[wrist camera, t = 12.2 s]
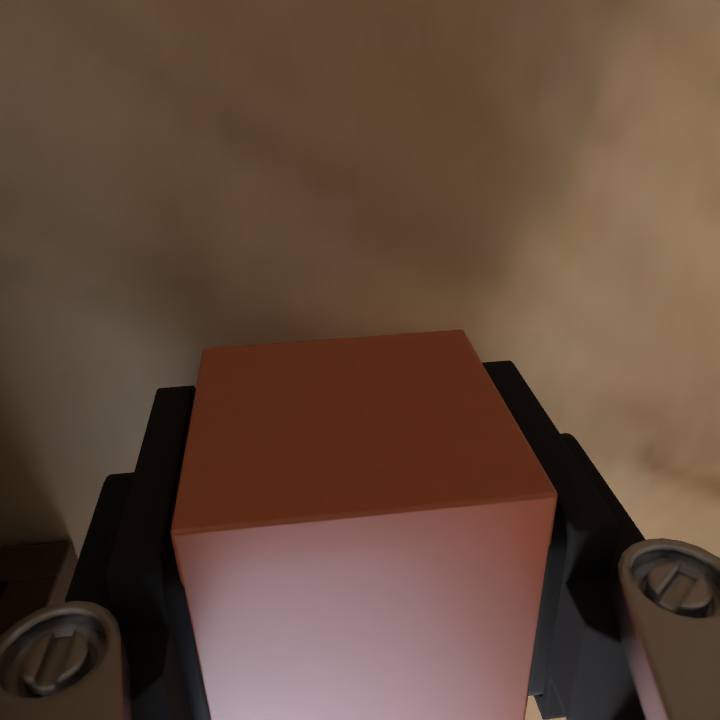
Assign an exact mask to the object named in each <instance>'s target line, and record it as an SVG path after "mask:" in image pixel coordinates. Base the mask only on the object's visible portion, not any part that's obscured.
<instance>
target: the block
mask: <svg viewBox="0 0 720 720" xmlns="http://www.w3.org/2000/svg"><path fill="white" fill-rule="evenodd" d="M556 503H557V491H556V490H555V488H554V486H553V485H552V483H551V481H550V479H549V478H548V476H547V474H546V472H545V471H544V469H543V467H542V466H541V464H540V462H539V460H538V459H537V457H536V455H535V454H534V452H533V450H532V448H531V447H530V445H529V443H528V442H527V440H526V438H525V436H524V435H523V433H522V431H521V430H520V428H519V426H518V424H517V423H516V421H515V419H514V417H513V416H512V414H511V412H510V411H509V409H508V407H507V405H506V404H505V402H504V400H503V399H502V397H501V395H500V393H499V392H498V390H497V388H496V387H495V385H494V383H493V381H492V380H491V378H490V376H489V375H488V373H487V371H486V369H485V368H484V366H483V364H482V362H481V361H480V359H479V357H478V356H477V354H476V352H475V350H474V349H473V347H472V345H471V344H470V342H469V340H468V338H467V337H466V335H465V333H464V332H463V331H462V330H450V331H437V332H424V333H410V334H397V335H383V336H370V337H357V338H343V339H330V340H316V341H303V342H290V343H276V344H263V345H249V346H236V347H223V348H209V349H204V350H203V352H202V357H201V363H200V368H199V374H198V380H197V385H196V391H195V397H194V402H193V408H192V413H191V419H190V425H189V430H188V436H187V441H186V447H185V453H184V458H183V464H182V470H181V475H180V481H179V486H178V492H177V498H176V503H175V509H174V515H173V520H172V526H171V531H170V534H171V538H172V543H173V548H174V553H175V558H176V563H177V568H178V573H179V577H180V580H181V584H182V585H183V586H184V589H185V594H186V599H187V604H188V609H189V614H190V619H191V624H192V629H193V634H194V639H195V644H196V649H197V654H198V658H199V663H200V668H201V673H202V678H203V683H204V688H205V693H206V698H207V703H208V708H209V713H210V718H211V720H525V714H526V707H527V700H528V695H527V690H528V684H529V677H530V670H531V663H532V656H533V649H534V642H535V636H536V629H537V622H538V615H539V608H540V601H541V594H542V588H543V581H544V574H545V567H546V560H547V553H548V548H549V545H550V544H551V537H552V530H553V523H554V516H555V510H556Z"/></svg>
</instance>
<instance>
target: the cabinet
mask: <svg viewBox="0 0 720 720" xmlns="http://www.w3.org/2000/svg"><path fill="white" fill-rule="evenodd" d="M76 565H77V561H76V557H75V554H74V551H73V547H72V544H71V542H61V543H50V544H39V545H28V546H16V547H5V548H0V636H1V635H2V634H3V633H5V632H6V631H7V630H8V629H9V628H10V627H12V626H13V625H14V624H15V623H16V622H17V621H19V620H21V619H23V618H24V617H26V616H28V615H30V614H31V613H33V612H35V611H36V610H39V609H42V608H45V607H48V606H51V605H53V604H56V603H63V602H65V599H66V596H67V593H68V590H69V587H70V583H71V580H72V577H73V574H74V571H75V568H76Z"/></svg>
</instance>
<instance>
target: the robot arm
mask: <svg viewBox="0 0 720 720" xmlns="http://www.w3.org/2000/svg"><path fill="white" fill-rule="evenodd" d="M482 364H483V366H484V368H485V369H486V371H487V373H488V375H489V376H490V378H491V380H492V381H493V383H494V385H495V387H496V388H497V390H498V392H499V393H500V395H501V397H502V399H503V400H504V402H505V404H506V405H507V407H508V409H509V411H510V412H511V414H512V416H513V417H514V419H515V421H516V423H517V424H518V426H519V428H520V430H521V431H522V433H523V435H524V436H525V438H526V440H527V442H528V443H529V445H530V447H531V448H532V450H533V452H534V454H535V455H536V457H537V459H538V460H539V462H540V464H541V466H542V467H543V469H544V471H545V472H546V474H547V476H548V478H549V479H550V481H551V483H552V485H553V486H554V488H555V490H556V491H557V503H556V510H555V516H554V523H553V530H552V537H551V544H550V545H549V548H548V553H547V560H546V567H545V574H544V581H543V588H542V594H541V601H540V608H539V615H538V622H537V629H536V636H535V642H534V649H533V656H532V663H531V670H530V677H529V684H528V690H527V695H528V696H531V695H534V697H535V700H536V702H537V705H538V708H539V710H540V713H541V716H542V718H543V720H544V719H552V718H560V717H566V719H567V720H720V558H718V557H717V556H715V555H713V554H711V553H710V552H708V551H706V550H704V549H702V548H700V547H698V546H695V545H692V544H689V543H685V542H682V541H678V540H670V539H663V538H661V539H648V540H645V538H644V537H643V535H642V534H641V532H640V531H639V530H638V528H637V527H636V525H635V524H634V522H633V521H632V519H631V518H630V517H629V515H628V514H627V512H626V511H625V509H624V508H623V506H622V505H621V504H620V502H619V501H618V499H617V498H616V496H615V495H614V493H613V492H612V490H611V489H610V488H609V486H608V485H607V483H606V482H605V480H604V479H603V477H602V476H601V475H600V473H599V472H598V470H597V469H596V467H595V466H594V464H593V463H592V462H591V460H590V459H589V457H588V456H587V454H586V453H585V451H584V450H583V449H582V447H581V446H580V444H579V443H578V441H577V440H576V439H575V438H574V437H573V436H572V435H571V434H568V433H563V434H560V433H559V432H558V430H557V429H556V427H555V426H554V424H553V423H552V421H551V420H550V418H549V417H548V415H547V414H546V412H545V411H544V409H543V408H542V406H541V405H540V403H539V402H538V400H537V399H536V397H535V395H534V394H533V392H532V391H531V389H530V388H529V386H528V385H527V383H526V382H525V380H524V379H523V377H522V376H521V374H520V373H519V371H518V370H517V368H516V367H515V365H514V364H513V363H512V362H511V361H497V362H484V363H482ZM195 391H196V389H195V387H194V386H182V387H170V388H159V389H158V390H157V392H156V395H155V399H154V403H153V406H152V410H151V414H150V417H149V421H148V424H147V428H146V432H145V435H144V439H143V443H142V446H141V450H140V454H139V457H138V461H137V464H136V468H135V472H133V473H122V474H111V475H109V476H108V477H107V478H106V480H105V482H104V484H103V487H102V490H101V493H100V496H99V499H98V502H97V505H96V508H95V511H94V514H93V517H92V520H91V523H90V526H89V529H88V532H87V535H86V538H85V541H84V544H83V547H82V550H81V553H80V556H79V559H78V562H77V565H76V568H75V571H74V574H73V577H72V580H71V583H70V587H69V590H68V593H67V596H66V599H65V602H63V603H56V604H53V605H51V606H48V607H45V608H42V609H39V610H36V611H35V612H33V613H31V614H30V615H28V616H26V617H24V618H23V619H21V620H19V621H17V622H16V623H15V624H14V625H13V626H12V627H10V628H9V629H8V630H7V631H6V632H5V633H3V634H2V635H1V636H0V720H211V718H210V713H209V708H208V703H207V698H206V693H205V688H204V683H203V678H202V673H201V668H200V663H199V658H198V654H197V649H196V644H195V639H194V634H193V629H192V624H191V619H190V614H189V609H188V604H187V599H186V594H185V589H184V586H183V585H182V584H181V580H180V577H179V573H178V568H177V563H176V558H175V553H174V548H173V543H172V538H171V534H170V531H171V526H172V520H173V515H174V509H175V503H176V498H177V492H178V486H179V481H180V475H181V470H182V464H183V458H184V453H185V447H186V441H187V436H188V430H189V425H190V419H191V413H192V408H193V402H194V397H195Z"/></svg>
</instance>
